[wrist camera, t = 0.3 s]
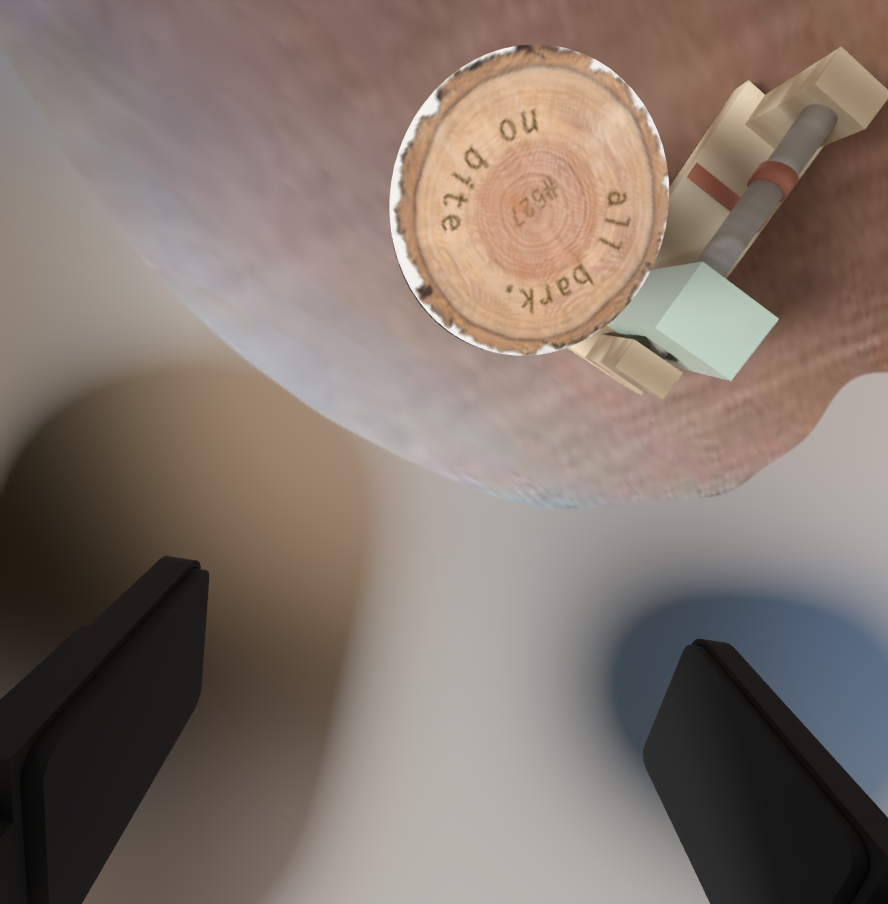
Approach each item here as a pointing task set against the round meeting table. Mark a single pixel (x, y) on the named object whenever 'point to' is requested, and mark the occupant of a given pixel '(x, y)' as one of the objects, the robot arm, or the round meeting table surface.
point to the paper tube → (529, 200)
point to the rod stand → (741, 189)
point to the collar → (696, 319)
